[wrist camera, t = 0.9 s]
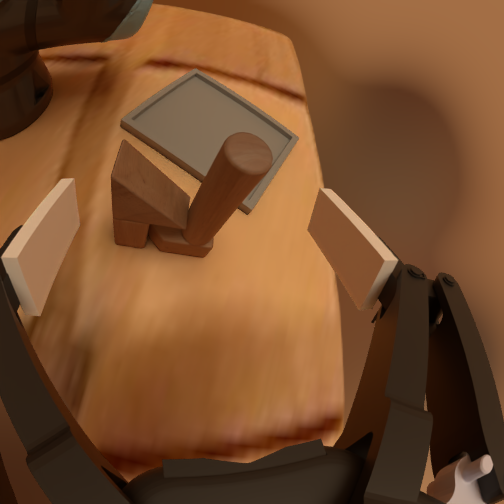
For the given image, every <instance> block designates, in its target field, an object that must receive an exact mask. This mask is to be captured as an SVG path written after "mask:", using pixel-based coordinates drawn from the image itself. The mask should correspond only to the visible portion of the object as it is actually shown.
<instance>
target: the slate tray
mask: <svg viewBox="0 0 504 504" xmlns="http://www.w3.org/2000/svg"><path fill="white" fill-rule="evenodd" d="M121 127H122V128H124V129H125V130H127V131H128V132H130V133H131V134H133V135H134V136H135V137H137V138H138V139H140V140H141V141H143V142H144V143H146V144H147V145H149V146H150V147H152V148H153V149H155V150H156V151H158V152H159V153H161V154H162V155H163V156H165V157H166V158H168V159H169V160H171V161H172V162H174V163H175V164H176V165H178V166H179V167H181V168H182V169H184V170H185V171H187V172H188V173H189V174H191V175H192V176H194V177H195V178H197V179H198V180H199V181H201V182H203V180H204V178H205V176H206V174H207V173H208V171H209V169H210V167H211V165H212V163H213V161H214V159H215V158H216V156H217V154H218V152H219V150H220V148H221V147H222V145H223V143H224V141H225V140H226V139H227V138H228V137H229V136H231V135H233V134H235V133H238V132H246V133H251V134H253V135H256V136H258V137H259V138H261V139H262V140H263V141H264V142H265V143H266V144H267V145H268V146H269V148H270V150H271V152H272V156H273V161H272V167H271V168H270V170H269V171H268V173H267V174H266V175H265V176H264V177H263V178H262V179H261V181H260V182H259V183H258V184H257V185H256V186H255V188H254V189H253V190H252V191H251V192H250V194H249V195H248V196H247V197H246V198H245V199H244V201H243V202H242V203H241V204H240V205H239V207H238V208H239V209H240V210H241V211H243V212H244V213H246V214H247V215H248V214H249V213H250V212H251V211H252V209H253V208H254V206H255V205H256V203H257V202H258V200H259V199H260V197H261V195H262V194H263V192H264V191H265V189H266V188H267V186H268V185H269V183H270V182H271V180H272V179H273V177H274V176H275V174H276V173H277V171H278V169H279V168H280V166H281V165H282V163H283V162H284V160H285V159H286V157H287V156H288V154H289V153H290V151H291V150H292V148H293V147H294V145H295V144H296V142H297V141H298V139H299V137H298V136H296V135H295V134H294V133H292V132H291V131H290V130H288V129H287V128H286V127H284V126H283V125H282V124H280V123H279V122H278V121H276V120H275V119H273V118H272V117H271V116H269V115H268V114H266V113H265V112H263V111H262V110H261V109H259V108H258V107H256V106H255V105H253V104H252V103H250V102H249V101H247V100H246V99H244V98H243V97H241V96H240V95H238V94H237V93H235V92H234V91H232V90H231V89H229V88H227V87H226V86H224V85H223V84H221V83H219V82H218V81H216V80H214V79H213V78H211V77H209V76H208V75H206V74H204V73H203V72H201V71H199V70H198V69H196V68H195V69H193V70H192V71H190V72H188V73H187V74H185V75H184V76H182V77H180V78H179V79H177V80H176V81H174V82H173V83H171V84H169V85H168V86H166V87H165V88H163V89H162V90H160V91H159V92H158V93H156V94H155V95H153V96H152V97H150V98H149V99H148V100H146V101H145V102H143V103H142V104H141V105H139V106H138V107H137V108H135V109H134V110H133V111H131V112H130V113H129V114H127V115H126V116H125V117H124V118H122V119H121Z"/></svg>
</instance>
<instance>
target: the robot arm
mask: <svg viewBox="0 0 504 504" xmlns="http://www.w3.org/2000/svg"><path fill="white" fill-rule="evenodd" d="M152 3H153V0H0V140H1V139H5V138H7V137H10V136H12V135H14V134H16V133H18V132H20V131H21V130H23V129H24V128H26V127H27V126H29V125H30V124H31V123H32V122H34V121H35V120H36V119H37V118H38V117H39V116H40V115H41V114H42V113H43V111H44V110H45V109H46V107H47V106H48V104H49V102H50V100H51V97H52V93H53V87H52V78H51V75H50V73H49V71H48V69H47V68H46V66H45V64H44V62H43V60H42V58H41V56H40V55H39V50H40V49H46V48H52V47H58V46H65V45H73V44H83V43H94V42H101V43H102V42H107V41H111V40H121V39H127V38H129V37H132V36H133V35H134V34H136V33H137V32H138V30H139V29H140V28H141V26H142V24H143V23H144V21H145V19H146V17H147V15H148V12H149V10H150V8H151V6H152ZM79 227H80V220H79V213H78V206H77V198H76V189H75V179H74V178H69V179H61V180H60V181H59V182H58V184H57V185H56V186H55V187H54V188H53V189H52V190H51V192H50V193H49V194H48V195H47V196H46V197H45V199H44V200H43V201H42V202H41V203H40V205H39V206H38V207H37V208H36V210H35V211H34V212H33V213H32V215H31V216H30V217H29V218H28V220H27V221H26V222H25V224H24V225H20V226H19V227H18V228H17V229H15V230H14V231H13V232H12V233H11V235H10V236H9V237H8V239H7V240H6V241H5V243H4V244H3V246H2V247H1V249H0V396H1V399H2V401H3V403H4V406H5V408H6V411H7V413H8V415H9V417H10V419H11V421H12V424H13V426H14V428H15V429H16V431H17V434H18V436H19V437H20V439H21V441H22V443H23V445H24V447H25V449H26V451H27V454H28V456H27V458H26V462H27V465H28V467H29V469H30V471H31V473H32V474H33V476H34V478H35V479H36V481H37V482H38V484H39V485H40V487H41V488H42V490H43V491H44V493H45V494H46V495H47V497H48V498H49V500H50V501H51V502H52V504H495V503H497V502H499V501H502V500H504V420H503V415H502V410H501V405H500V401H499V397H498V393H497V389H496V385H495V381H494V378H493V374H492V371H491V368H490V364H489V361H488V358H487V355H486V352H485V349H484V346H483V343H482V340H481V337H480V335H479V332H478V329H477V327H476V324H475V322H474V319H473V317H472V314H471V312H470V309H469V307H468V305H467V302H466V300H465V298H464V295H463V293H462V291H461V289H460V287H459V285H458V283H457V282H456V281H455V279H454V278H453V277H452V276H451V275H449V274H446V273H439V274H438V276H437V277H436V279H435V281H434V280H429V279H427V277H426V275H425V274H424V273H423V272H422V271H421V270H420V269H419V268H417V267H415V266H413V265H409V264H406V265H404V264H403V263H402V262H401V261H400V259H399V258H398V257H397V256H396V255H395V254H394V253H393V251H392V250H390V248H389V247H388V246H387V245H386V244H385V242H383V240H382V239H381V238H380V237H378V236H377V235H376V234H374V233H373V232H372V231H371V230H370V228H369V227H368V226H367V225H366V224H365V223H364V222H363V221H362V220H361V219H360V218H359V217H358V216H357V215H356V214H355V213H354V212H353V211H352V210H351V209H350V208H349V206H348V205H347V204H345V202H344V201H343V200H341V199H340V197H338V196H337V194H335V193H334V192H333V191H332V190H331V189H324V188H319V192H318V195H317V199H316V202H315V206H314V209H313V213H312V216H311V220H310V223H309V226H308V231H309V233H310V234H311V236H312V237H313V239H314V240H315V242H316V243H317V245H318V246H319V248H320V249H321V251H322V253H323V254H324V256H325V257H326V259H327V260H328V262H329V263H330V265H331V266H332V268H333V270H334V271H335V273H336V274H337V276H338V277H339V279H340V281H341V282H342V284H343V285H344V287H345V289H346V290H347V292H348V293H349V295H350V296H351V298H352V300H353V302H354V303H355V305H356V307H357V308H358V310H368V309H372V308H373V306H374V305H375V303H376V301H377V299H379V301H380V302H381V304H382V305H381V307H380V308H379V310H378V312H377V314H376V315H375V317H374V319H373V320H372V323H374V321H375V320H376V323H375V327H374V332H373V336H372V340H371V344H370V348H369V352H368V356H367V359H366V363H365V367H364V370H363V374H362V377H361V380H360V384H359V387H358V390H357V393H356V396H355V399H354V402H353V406H352V408H351V411H350V414H349V417H348V420H347V423H346V425H345V428H344V430H343V433H342V434H341V436H340V437H339V439H338V440H337V442H336V443H335V445H334V446H333V447H329V446H323V443H322V440H321V439H318V440H314V441H310V442H306V443H302V444H298V445H293V446H288V447H285V448H283V449H281V450H279V451H276V452H274V453H272V454H270V455H268V456H265V457H263V458H261V459H258V460H256V461H253V462H251V463H237V462H227V461H219V460H212V459H205V458H199V459H169V460H162V462H163V466H162V467H158V468H154V469H151V470H149V471H146V472H144V473H142V474H140V475H138V476H137V477H136V478H134V479H133V480H131V481H130V482H129V483H128V482H127V481H126V480H125V479H124V478H123V476H122V475H121V474H120V473H119V472H118V471H117V470H116V469H115V468H114V467H113V466H112V465H111V464H110V463H109V462H108V461H107V460H106V459H105V458H104V457H103V456H102V454H101V453H100V452H99V451H98V449H97V448H96V447H95V446H94V444H93V443H92V442H91V441H90V439H89V438H88V437H87V435H86V434H85V433H84V431H83V430H82V429H81V427H80V426H79V424H78V423H77V422H76V420H75V419H74V417H73V416H72V414H71V413H70V411H69V410H68V408H67V407H66V405H65V404H64V402H63V401H62V399H61V397H60V396H59V394H58V392H57V391H56V389H55V387H54V386H53V384H52V382H51V381H50V379H49V377H48V375H47V373H46V372H45V370H44V368H43V366H42V364H41V362H40V360H39V358H38V356H37V354H36V352H35V350H34V348H33V346H32V344H31V342H30V340H29V338H28V335H27V333H26V331H25V329H24V326H23V324H22V322H21V319H20V317H19V315H18V313H17V310H18V308H19V305H21V307H22V309H23V311H24V313H25V315H33V316H40V315H41V313H42V310H43V307H44V304H45V302H46V299H47V297H48V294H49V292H50V289H51V287H52V284H53V282H54V279H55V277H56V275H57V272H58V270H59V268H60V266H61V263H62V261H63V259H64V257H65V255H66V253H67V250H68V248H69V246H70V244H71V242H72V240H73V238H74V236H75V234H76V232H77V230H78V228H79ZM442 314H443V318H442V321H441V322H440V324H439V322H438V319H439V318H440V316H441V315H442ZM425 392H426V401H427V410H428V411H425V410H424V400H425ZM429 446H430V455H431V463H432V470H433V475H434V478H435V481H433V482H431V483H430V484H429V485H428V487H427V494H425V493H424V492H421V491H420V488H421V484H422V480H423V476H424V471H425V466H426V462H427V457H428V451H429ZM0 504H18V503H17V500H16V497H15V495H14V492H13V489H12V487H11V484H10V482H9V479H8V476H7V473H6V470H5V467H4V464H3V461H2V457H1V454H0Z"/></svg>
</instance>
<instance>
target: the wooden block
mask: <svg viewBox="0 0 504 504" xmlns="http://www.w3.org/2000/svg"><path fill="white" fill-rule="evenodd" d="M272 161H273V156H272V152H271V150H270V148H269V146H268V145H267V144H266V143H265V142H264V141H263V140H262V139H261V138H259V137H258V136H256V135H253V134H251V133H246V132H238V133H235V134H233V135H231V136H229V137H228V138H227V139H226V140H225V141H224V143H223V145H222V147H221V148H220V150H219V152H218V154H217V156H216V158H215V159H214V161H213V163H212V165H211V167H210V169H209V171H208V173H207V174H206V176H205V178H204V180H203V182H202V184H201V186H200V188H199V190H198V192H197V194H196V196H195V198H194V200H193V202H192V204H191V206H190V208H189V201H190V197H189V195H187V194H186V193H185V192H184V191H183V190H182V189H181V188H179V187H178V186H177V185H176V184H175V183H174V182H173V181H171V180H170V179H169V178H168V177H167V176H166V175H165V174H164V173H162V172H161V171H160V170H159V169H158V168H157V167H156V166H154V165H153V164H152V163H151V162H150V161H149V160H148V159H146V158H145V157H144V156H143V155H142V154H141V153H140V152H139V151H137V150H136V149H135V148H134V147H133V146H132V145H131V144H129V143H128V142H127V141H126V140H123V141H122V143H121V146H120V149H119V152H118V155H117V158H116V161H115V164H114V168H113V171H112V174H111V192H112V211H113V225H114V237H115V243H116V244H119V245H125V246H132V247H138V248H144V247H145V244H146V239H147V234H148V236H149V237H150V238H151V240H152V241H153V242H154V244H155V245H156V246H157V247H158V249H159V250H160V251H165V252H171V253H178V254H185V255H191V256H198V257H205V256H206V255H207V254H208V253H209V251H210V250H211V249H212V248H213V237H214V236H215V234H216V233H217V232H218V231H219V229H220V228H221V227H222V226H223V225H224V223H225V222H226V221H227V220H228V219H229V217H230V216H231V215H232V214H233V213H234V211H235V210H236V209H237V208H238V207H239V205H240V204H241V203H242V202H243V201H244V199H245V198H246V197H247V196H248V195H249V194H250V192H251V191H252V190H253V189H254V188H255V186H256V185H257V184H258V183H259V182H260V181H261V179H262V178H263V177H264V176H265V175H266V174H267V173H268V171H269V170H270V168H271V167H272ZM188 209H189V210H188Z"/></svg>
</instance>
